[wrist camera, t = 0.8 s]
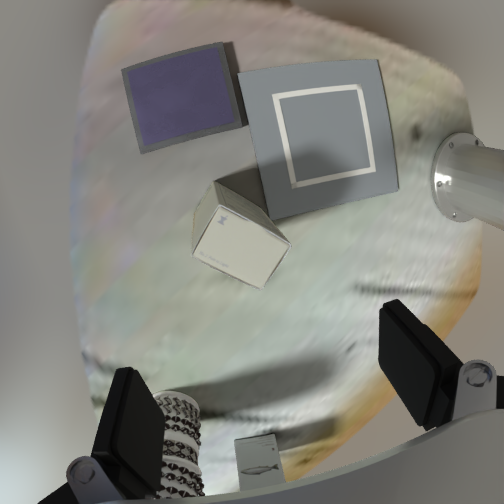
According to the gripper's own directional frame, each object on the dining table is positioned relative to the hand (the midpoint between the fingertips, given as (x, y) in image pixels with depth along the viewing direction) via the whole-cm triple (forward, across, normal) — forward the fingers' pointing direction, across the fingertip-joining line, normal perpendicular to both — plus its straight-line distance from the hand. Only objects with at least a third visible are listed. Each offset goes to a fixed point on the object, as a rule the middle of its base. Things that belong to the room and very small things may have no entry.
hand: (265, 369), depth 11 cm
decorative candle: (+24, +16, +27) cm, 40 cm away
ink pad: (+24, +2, -13) cm, 27 cm away
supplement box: (+24, +6, +42) cm, 49 cm away
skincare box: (+24, 0, 0) cm, 24 cm away
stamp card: (+24, -12, -6) cm, 28 cm away
